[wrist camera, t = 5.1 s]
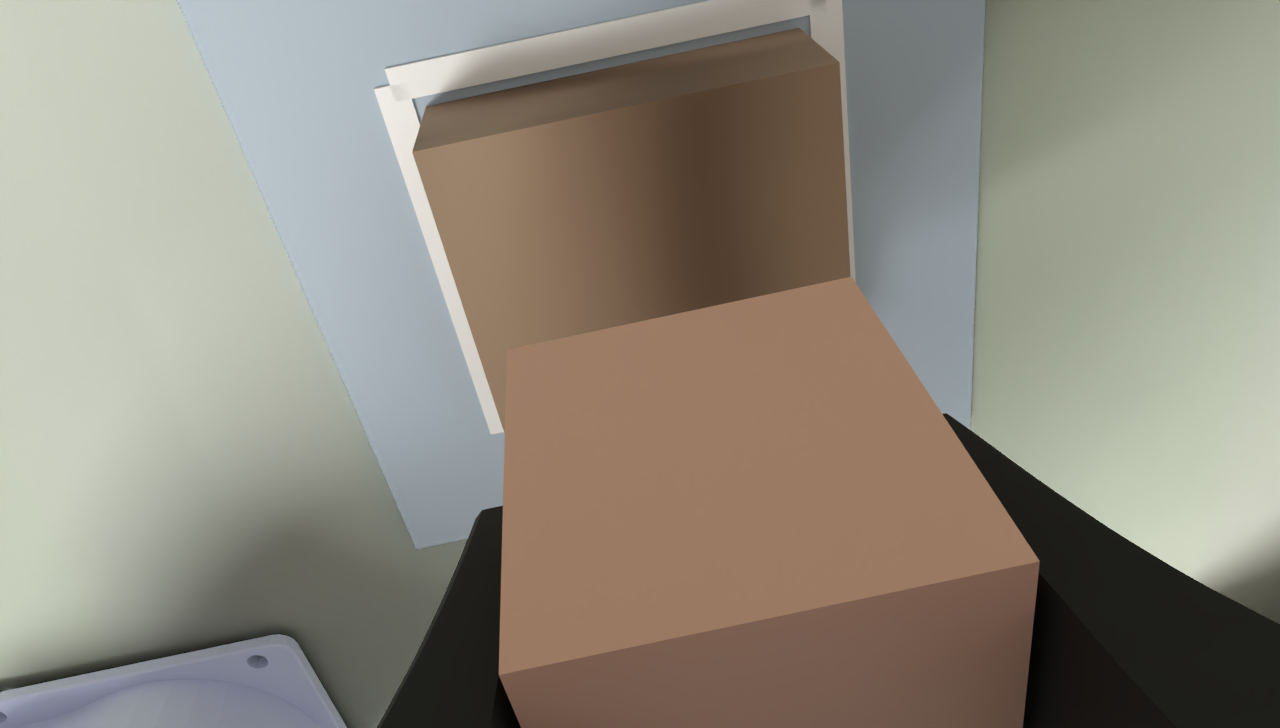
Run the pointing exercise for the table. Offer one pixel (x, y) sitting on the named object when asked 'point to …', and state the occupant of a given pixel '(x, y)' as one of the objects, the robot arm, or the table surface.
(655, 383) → the top block
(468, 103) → the base block
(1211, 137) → the table surface
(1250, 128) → the table surface
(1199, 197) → the table surface
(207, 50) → the blueprint board
